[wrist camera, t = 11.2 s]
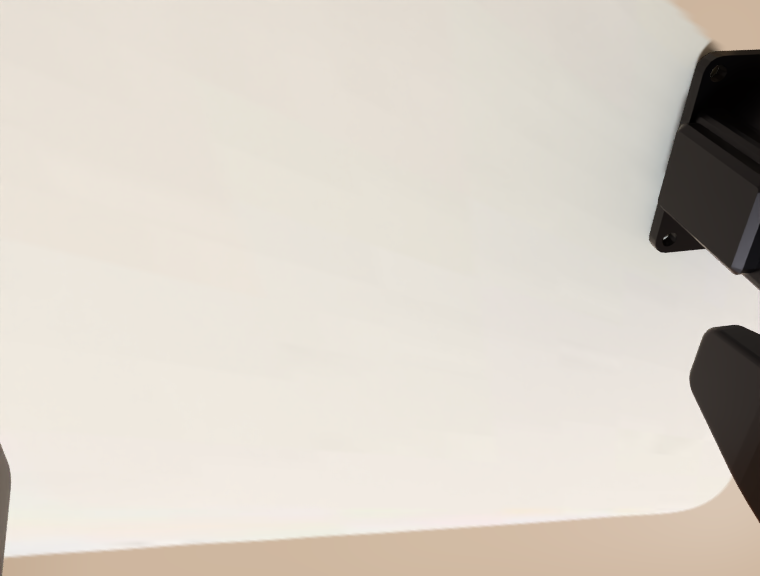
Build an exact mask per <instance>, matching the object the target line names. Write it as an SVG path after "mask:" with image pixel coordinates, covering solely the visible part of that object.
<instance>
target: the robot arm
mask: <svg viewBox="0 0 760 576" xmlns="http://www.w3.org/2000/svg"><path fill="white" fill-rule="evenodd" d="M717 65H719V69H718V71H717V73H716V74H715V75H713V76H712V77H710V74H711V72H712V70H713V69H714V68H715V67H716V66H717ZM667 234H669V236H668V237H667V238H666V239H664V240H663V238H664V237H665V236H666V235H667ZM649 240H650V243H651V244H652V245H653V246H654V247H655V248H656V249H657V250H658V251H660V252H664V253H668V252H678V251H688V250H698V249H707V250H708V251H709V252H710V253H711V254H712V255H713V256H714V257H715V258H717V259H718V260H719V261H720V262H721V263H722V264H723V265H724V266H725V267H726V268H727V269H728V270H730V271H731V272H732V273H733V274H735V275H739V274H742V275H743V276H744V277H746V278H747V279H748V280H749V281H750V282H751V283H752V284H753V285H754V286H755V287H757V288H758V289H759V290H760V50H736V51H715V52H711V53H708V54H707V55H705V56H704V57H703V58H702V59H701V60H700V61H699V62H698V64H697V66H696V69H695V72H694V75H693V79H692V83H691V86H690V90H689V93H688V97H687V101H686V104H685V108H684V112H683V115H682V119H681V122H680V126H679V129H678V131H677V133H676V137H675V140H674V144H673V147H672V151H671V155H670V158H669V162H668V166H667V169H666V173H665V177H664V180H663V184H662V187H661V191H660V195H659V198H658V206H657V209H656V213H655V217H654V220H653V224H652V227H651V231H650V235H649ZM689 380H690V387H691V390H692V393H693V395H694V397H695V399H696V401H697V403H698V405H699V407H700V410H701V412H702V414H703V416H704V418H705V420H706V422H707V424H708V426H709V428H710V430H711V432H712V435H713V437H714V439H715V441H716V443H717V445H718V447H719V449H720V451H721V453H722V455H723V457H724V460H725V462H726V464H727V466H728V468H729V470H730V472H731V474H732V476H733V478H734V480H735V482H736V484H737V485H738V487H739V489H740V491H741V492H742V494H743V496H744V498H745V500H746V501H747V503H748V505H749V506H750V508H751V509H752V511H753V513H754V514H755V516H756V518H757V519H758V521H759V523H760V334H758V333H756V332H753V331H751V330H749V329H747V328H745V327H742V326H739V325H729V326H721V327H713V328H711V329H708V330H707V332H706V333H705V334H704V335H703V337H702V340H701V343H700V346H699V349H698V351H697V354H696V357H695V360H694V363H693V365H692V368H691V371H690V378H689ZM10 490H11V474H10V468H9V465H8V462H7V459H6V457H5V454H4V452H3V449H2V446H1V444H0V576H2V570H3V560H4V550H5V540H6V530H7V520H8V510H9V500H10Z"/></svg>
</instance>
